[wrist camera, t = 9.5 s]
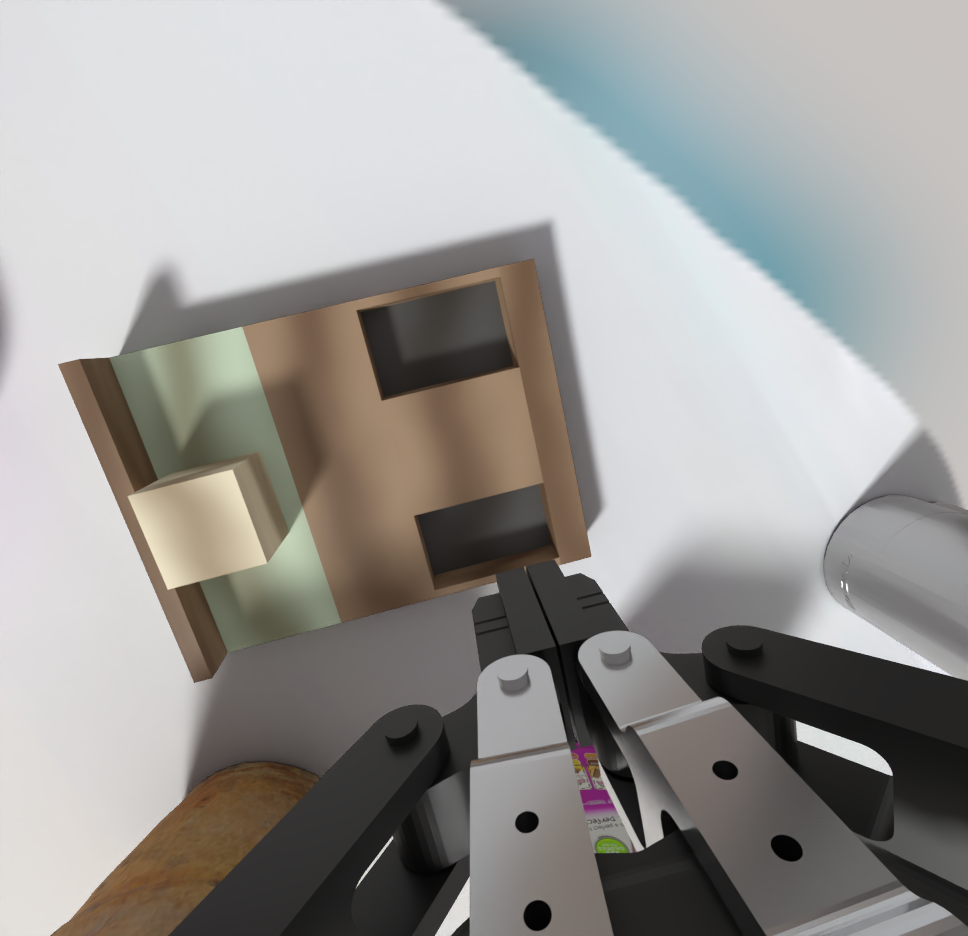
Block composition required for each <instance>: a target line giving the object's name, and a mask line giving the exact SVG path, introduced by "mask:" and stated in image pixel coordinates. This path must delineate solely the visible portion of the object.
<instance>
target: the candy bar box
mask: <svg viewBox="0 0 968 936" xmlns="http://www.w3.org/2000/svg"><path fill="white" fill-rule="evenodd" d="M575 742H576V747H577V749H576V750H572V751H571V753H572V757H573V762H574V767H575V773H576V777H577V782H578V786H579V790H580V794H581V799H582V803H583V807H584V811H585V816H586V820H587V824H588V829H589V833H590V837H591V841H592V846H593V850H594V853H633V852H637V851H636V849H635V847H634V845H633V843H632V841H631V839H630V836H629V834H628V832H627V830H626V828H625V826H624V824H623V822H622V820H621V818H620V816H619V814H618V812H617V810H616V808H615V806H614V804H613V802H612V800H611V798H610V796H609V794H608V791H607V789H606V787H605V785H604V783H603V781H602V778H601V773H600V768H599V763H598V757H597V754H596V751H595V749H594V746H593V745H591V746H587V747H583V748H580V746H579V743H578V741H577V740H575Z"/></svg>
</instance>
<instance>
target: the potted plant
mask: <svg viewBox="0 0 968 936" xmlns="http://www.w3.org/2000/svg"><path fill="white" fill-rule="evenodd" d="M319 780H320V779H319V777H318V776H317V775H314V774H312V773H309V772H307V771H304V770H302V769H299V768H296V767H292V766H288V765H283V764H279V763H275V762H256V763H239V764H237V765H234V766H231V767H229V768H226V769H223V770H221V771H218V772H216V773H214V774H213V775H211V776H210V777H208V778H207V779H205V780H204V781H203V782H201V783H200V784H198V785H197V786H195V787H194V788H193V789H192V791H191V792H190V793H189V794H188V795H187V796H186V798H185V799H184V800H183V801H182V802H181V803H180V804H179V805H178V806H177V807H176V808H175V809H174V810H173V811H172V812H170V813H169V814H168V815H167V816H166V817H165V818H164V819H163V820H162V821H161V822H160V823H159V824H158V825H157V826H156V827H155V828H154V829H153V830H152V831H151V832H150V833H149V834H148V835H147V836H146V838H145V839H144V840H143V841H142V842H141V843H140V844H139V845H138V846H137V847H136V848H135V849H134V850H133V851H132V852H131V853H130V854H129V855H128V856H127V857H126V858H125V859H124V860H123V861H122V862H121V863H120V864H119V865H118V866H117V868H116V869H115V870H114V871H113V872H112V873H111V874H110V875H109V876H108V877H107V878H106V879H105V880H104V881H103V882H102V883H101V884H100V885H99V887H98V888H97V889H96V890H95V891H94V892H93V893H92V895H91V896H90V898H89V899H88V900H87V901H86V902H85V904H84V905H83V906H82V907H81V908H80V909H79V911H78V912H77V913H76V914H75V915H74V916H73V917H72V919H71V920H70V921H69V922H67V923H66V924H64V925H63V926H61V927H60V928H59V929H58V930H57V931H55V932H54V933H53V934H52V935H51V936H168V935H169V934H170V933H171V932H172V931H173V930H174V929H175V928H176V927H177V926H178V925H179V924H180V923H181V922H182V921H183V920H184V919H185V918H186V917H187V916H188V915H189V914H190V913H191V911H192V910H193V909H194V908H195V907H196V906H197V905H198V904H199V903H200V902H201V901H202V900H203V899H204V898H205V897H206V896H207V895H208V894H209V893H210V892H211V891H212V890H213V889H214V888H215V887H216V886H217V885H218V884H219V883H220V882H221V881H222V880H223V879H224V878H225V877H226V876H227V874H228V873H229V872H230V871H231V870H232V869H233V868H234V867H235V866H236V865H237V864H238V863H239V862H240V861H241V860H242V859H243V858H244V857H245V856H246V855H247V854H248V853H249V852H250V851H251V850H252V849H253V848H254V847H255V846H256V845H257V844H258V843H259V842H260V841H261V840H262V839H263V837H264V836H265V835H266V834H267V833H268V832H269V831H270V830H271V829H272V828H273V827H274V826H275V825H276V824H277V823H278V822H279V821H280V820H281V819H282V818H283V817H284V816H285V815H286V814H287V813H288V812H289V811H290V810H291V809H292V808H293V807H294V806H295V805H296V804H297V803H298V802H299V800H300V799H301V798H302V797H303V796H304V795H305V794H306V793H307V792H308V791H309V790H310V789H311V788H312V787H313V786H314V785H315V784H316V783H317V782H318V781H319Z"/></svg>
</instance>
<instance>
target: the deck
mask: <svg viewBox="0 0 968 936" xmlns="http://www.w3.org/2000/svg"><path fill="white" fill-rule="evenodd" d="M58 365H59V368H60V370H61V372H62V375H63V377H64V379H65V382H66V384H67V386H68V389H69V391H70V393H71V396H72V398H73V400H74V403H75V405H76V407H77V410H78V412H79V414H80V417H81V419H82V422H83V424H84V426H85V429H86V431H87V433H88V436H89V438H90V440H91V443H92V445H93V447H94V450H95V452H96V454H97V457H98V459H99V461H100V464H101V466H102V468H103V471H104V473H105V475H106V478H107V480H108V482H109V485H110V487H111V489H112V492H113V494H114V496H115V499H116V501H117V503H118V506H119V508H120V510H121V513H122V515H123V517H124V520H125V522H126V524H127V527H128V529H129V531H130V534H131V536H132V538H133V541H134V543H135V545H136V548H137V550H138V552H139V555H140V557H141V559H142V562H143V564H144V566H145V569H146V571H147V573H148V576H149V578H150V580H151V583H152V585H153V587H154V590H155V592H156V594H157V597H158V599H159V601H160V604H161V606H162V608H163V611H164V613H165V615H166V618H167V620H168V622H169V625H170V627H171V629H172V632H173V634H174V636H175V639H176V641H177V643H178V646H179V648H180V650H181V653H182V655H183V657H184V660H185V662H186V664H187V667H188V669H189V671H190V674H191V676H192V678H193V681H194V683H196V682H199V681H203V680H207V679H211V678H213V676H214V674H215V673H216V671H217V670H218V668H219V666H220V665H221V663H222V662H223V660H224V658H225V657H226V655H227V654H228V653H229V652H233V651H237V650H241V649H244V648H248V647H252V646H256V645H260V644H263V643H267V642H271V641H275V640H278V639H282V638H286V637H290V636H294V635H297V634H301V633H305V632H309V631H312V630H316V629H320V628H324V627H328V626H331V625H335V624H339V623H343V622H346V621H350V620H354V619H358V618H362V617H365V616H369V615H373V614H377V613H380V612H384V611H388V610H392V609H396V608H399V607H403V606H407V605H411V604H414V603H418V602H422V601H426V600H430V599H433V598H437V597H441V596H445V595H448V594H452V593H456V592H460V591H464V590H467V589H471V588H475V587H479V586H482V585H486V584H490V583H494V582H497V580H496V575H495V573H499V572H503V571H507V570H511V569H515V568H520V567H524V569H525V571H526V566H528V565H532V564H536V563H540V562H544V561H548V560H552V559H555V561H556V563H557V564H558V565H562V564H566V563H569V562H573V561H577V560H581V559H584V558H588V557H591V551H590V546H589V541H588V536H587V531H586V526H585V520H584V515H583V510H582V505H581V500H580V495H579V489H578V484H577V479H576V474H575V469H574V464H573V459H572V453H571V448H570V443H569V438H568V433H567V428H566V422H565V417H564V412H563V407H562V402H561V397H560V391H559V386H558V381H557V376H556V371H555V366H554V360H553V355H552V350H551V345H550V340H549V335H548V329H547V324H546V319H545V314H544V309H543V304H542V299H541V293H540V288H539V283H538V278H537V273H536V268H535V262H534V259H530V260H526V261H522V262H518V263H513V264H509V265H505V266H500V267H496V268H492V269H488V270H483V271H479V272H475V273H470V274H466V275H462V276H457V277H453V278H449V279H445V280H440V281H436V282H432V283H427V284H423V285H419V286H415V287H410V288H406V289H402V290H397V291H393V292H389V293H385V294H380V295H376V296H372V297H367V298H363V299H359V300H354V301H350V302H346V303H342V304H337V305H333V306H329V307H324V308H320V309H316V310H312V311H307V312H303V313H299V314H294V315H290V316H286V317H282V318H277V319H273V320H269V321H264V322H260V323H256V324H251V325H247V326H243V327H239V328H234V329H230V330H226V331H221V332H217V333H213V334H209V335H204V336H200V337H196V338H191V339H187V340H183V341H179V342H174V343H170V344H166V345H161V346H157V347H153V348H148V349H144V350H140V351H136V352H131V353H127V354H123V355H118V356H114V357H110V358H94V359H78V360H74V361H70V362H66V363H61V364H58ZM257 451H261V454H262V457H263V460H264V463H265V466H266V468H267V471H268V474H269V477H270V480H271V482H272V485H273V488H274V491H275V494H276V496H277V499H278V502H279V505H280V508H281V511H282V513H283V516H284V519H285V522H286V525H287V527H288V530H289V533H288V535H287V536H286V538H285V539H284V540H283V542H282V543H281V545H280V546H279V548H278V549H277V550H276V552H275V553H274V555H273V556H272V558H271V559H270V560H269V562H268V563H267V564H263V565H260V566H256V567H252V568H248V569H244V570H241V571H237V572H233V573H229V574H225V575H222V576H218V577H214V578H210V579H207V580H203V581H199V582H195V583H191V584H188V585H184V586H180V587H176V588H173V589H169V590H168V589H167V587H166V584H165V582H164V580H163V577H162V575H161V573H160V570H159V568H158V566H157V563H156V561H155V559H154V556H153V554H152V552H151V550H150V547H149V545H148V543H147V540H146V538H145V536H144V533H143V531H142V529H141V526H140V524H139V522H138V519H137V517H136V515H135V512H134V510H133V508H132V505H131V503H130V501H129V498H128V496H129V495H131V494H133V493H135V492H136V491H138V490H140V489H142V488H144V487H146V486H148V485H150V484H152V483H154V482H155V481H157V480H159V479H161V478H163V477H165V476H167V475H169V474H171V473H174V472H178V471H182V470H186V469H190V468H194V467H198V466H202V465H206V464H210V463H214V462H218V461H222V460H226V459H229V458H233V457H237V456H241V455H245V454H249V453H253V452H257ZM526 574H527V573H526Z"/></svg>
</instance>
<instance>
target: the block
mask: <svg viewBox="0 0 968 936" xmlns="http://www.w3.org/2000/svg"><path fill="white" fill-rule="evenodd" d="M128 498H129V501H130V503H131V505H132V508H133V510H134V512H135V515H136V517H137V519H138V522H139V524H140V526H141V529H142V531H143V533H144V536H145V538H146V540H147V543H148V545H149V547H150V550H151V552H152V554H153V556H154V559H155V561H156V563H157V566H158V568H159V570H160V573H161V575H162V577H163V580H164V582H165V584H166V587H167V589H168V590H169V589H173V588H176V587H180V586H184V585H188V584H191V583H195V582H199V581H203V580H207V579H210V578H214V577H218V576H222V575H225V574H229V573H233V572H237V571H241V570H244V569H248V568H252V567H256V566H260V565H263V564H267V563H268V562H269V560H270V559H271V558H272V556H273V555H274V553H275V552H276V550H277V549H278V548H279V546H280V545H281V543H282V542H283V540H284V539H285V538H286V536H287V535H288V533H289V530H288V527H287V525H286V522H285V519H284V516H283V513H282V511H281V508H280V505H279V502H278V499H277V496H276V494H275V491H274V488H273V485H272V482H271V480H270V477H269V474H268V471H267V468H266V466H265V463H264V460H263V457H262V454H261V451H257V452H253V453H249V454H245V455H241V456H237V457H233V458H229V459H226V460H222V461H218V462H214V463H210V464H206V465H202V466H198V467H194V468H190V469H186V470H182V471H178V472H174V473H171V474H169V475H167V476H165V477H163V478H161V479H159V480H157V481H155V482H154V483H152V484H150V485H148V486H146V487H144V488H142V489H140V490H138V491H136V492H135V493H133V494H131V495H129V496H128Z"/></svg>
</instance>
